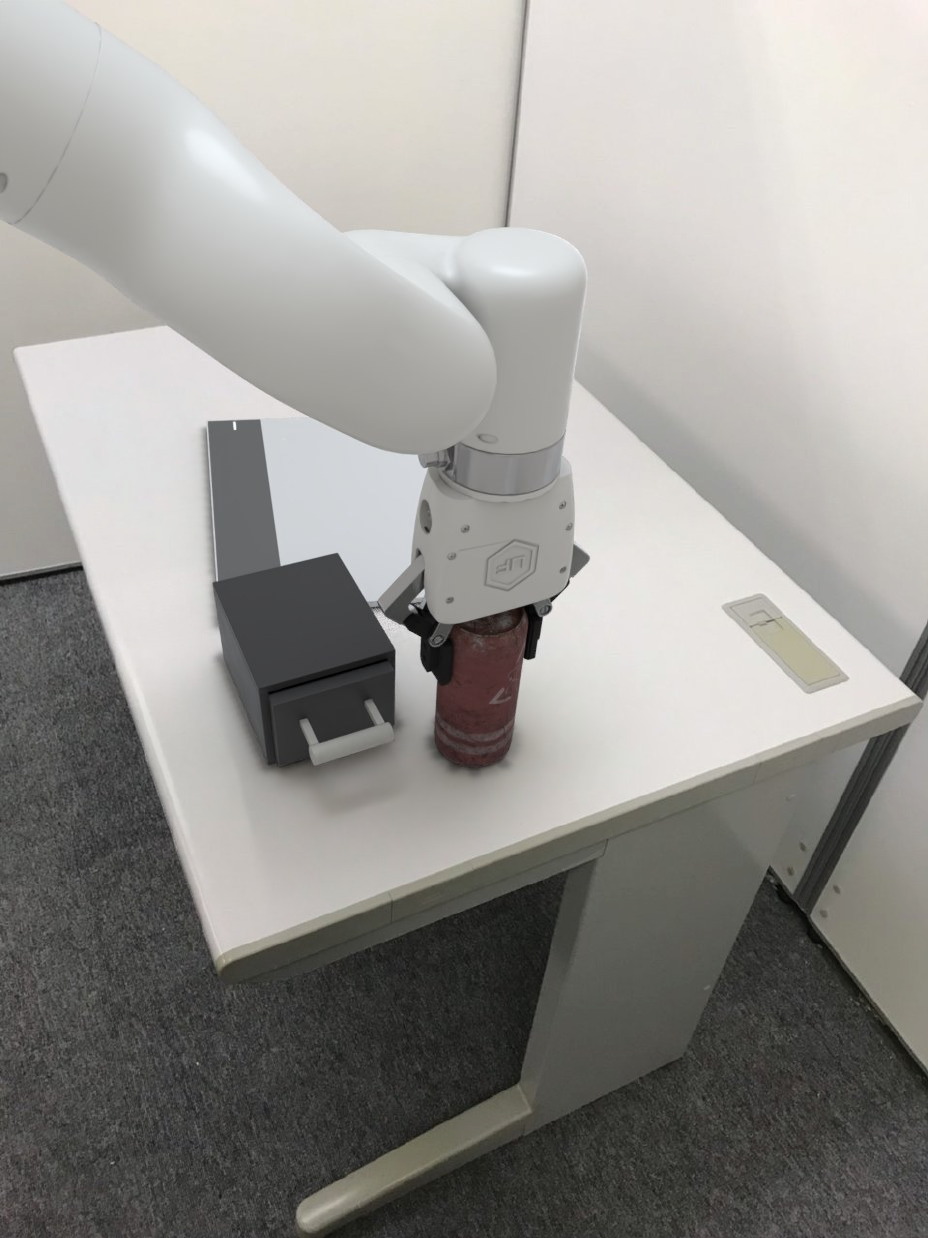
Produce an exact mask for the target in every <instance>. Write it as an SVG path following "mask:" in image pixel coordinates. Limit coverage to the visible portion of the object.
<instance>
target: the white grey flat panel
mask: <svg viewBox="0 0 928 1238" xmlns="http://www.w3.org/2000/svg"><path fill="white" fill-rule="evenodd" d="M205 423H206V437H207V438H206V439H207V441H206V442H207V452H208V454H207V455H208V469H209V471H208V472H209V486H210V501H211V517H212V533H213V534H212V535H213V548H214V550H213V551H214V552H213V553H214V566H215V567H214V568H215V580H216V581H220V580H225V579H229V578H233V577H237V576H241V575H246V574H250V573H254V572H258V571H262V570H267V569H271V568H275V567H279V566H283V565H287V564H292V563H296V562H300V561H304V560H308V559H313V558H317V557H321V556H325V555H329V554H334V553H338V554H339V555H340V557H341V559H342V561H343V562H344V564H345V566H346V567H347V569H348V571H349V572H350V574H351V576H352V577H353V579H354V581H355V582H356V584H357V586H358V587H359V589H360V591H361V592H362V594H363V596H364V597H365V599H366V601H367V603H368V604H369V606H370V608H377V607H379V606H378V603H377V601H378V599H379V598H380V597H381V596H382V594H383V593H384V592H385V591H386V590H387V589H388V588H389V587H390V586H391V585H392V584H393V583H394V582H395V581H396V580H397V578H398V577H399V576H400V575H401V574H402V573H403V572H404V571H405V570H406V569H407V568H408V567H409V566H410V565H411V553H412V541H413V533H414V524H415V518H416V512H417V507H418V502H419V498H420V493H421V490H422V486H423V482H424V479H425V476H426V472H427V469H428V468H423V467H422V466H421V464H420V462H419V458H418V455H410V454H399V453H394V452H389V451H384V450H381V449H378V448H375V447H372V446H370V445H367V444H365V443H363V442H360V441H358V440H356V439H354V438H352V437H350V436H348V435H346V434H344V433H342V432H340V431H337V430H335V429H333V428H331V427H329V426H327V425H325V424H323V423H321V422H319V421H317V420H315V419H313V418H311V417H309V416H300V417H299V416H298V417H297V416H296V417H269V418H243V419H242V418H241V419H240V418H239V419H213V420H210V419H208V420H205ZM216 581H215V582H216ZM424 595H425V589H423V590H422V591H421V592H420V593H419V594H418V595H417V596H416V597H415V599H414V600H413V601H412V602H411V603H412V604H414V603H415V604H416V603H421V601H422V599H423V597H424ZM379 608H380V607H379Z"/></svg>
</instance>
